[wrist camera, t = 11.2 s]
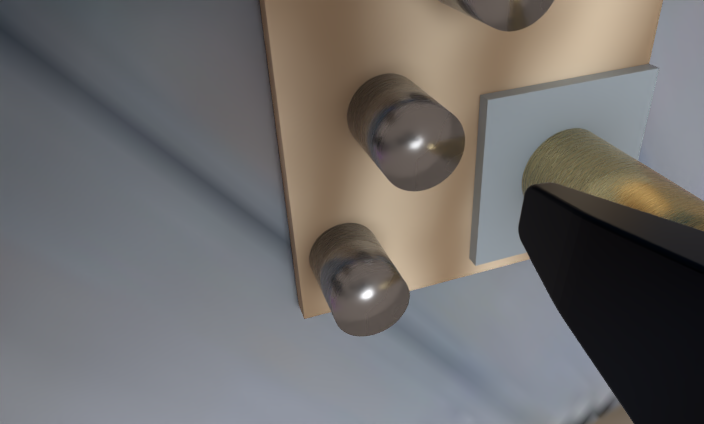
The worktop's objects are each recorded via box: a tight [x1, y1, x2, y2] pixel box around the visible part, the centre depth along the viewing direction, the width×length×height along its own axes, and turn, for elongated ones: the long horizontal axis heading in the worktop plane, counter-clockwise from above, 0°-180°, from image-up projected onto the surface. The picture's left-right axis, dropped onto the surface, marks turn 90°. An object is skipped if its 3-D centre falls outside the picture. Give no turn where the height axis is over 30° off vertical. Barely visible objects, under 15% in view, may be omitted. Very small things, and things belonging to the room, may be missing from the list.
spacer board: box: [259, 0, 663, 319], centre depth 23 cm, size 16×20×1 cm
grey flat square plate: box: [469, 64, 659, 266], centre depth 26 cm, size 8×8×1 cm
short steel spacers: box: [309, 0, 554, 336], centre depth 20 cm, size 8×18×4 cm, turn 3°
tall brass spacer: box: [522, 128, 704, 231], centre depth 21 cm, size 4×4×12 cm
